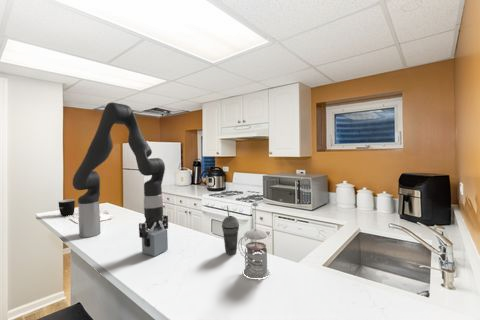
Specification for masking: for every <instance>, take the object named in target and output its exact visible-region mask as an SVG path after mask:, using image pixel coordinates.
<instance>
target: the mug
mask: <svg viewBox="0 0 480 320" xmlns="http://www.w3.org/2000/svg"><path fill="white" fill-rule="evenodd" d="M75 201H76V200H75V199H71V198H69V199H63V200H59V201H58V210H59V214H60V216H61V217H69V216H68V215H71V216H73V215H74V213H75V209H76V205H75V203H76V202H75ZM72 214H73V215H72Z"/></svg>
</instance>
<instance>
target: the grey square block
mask: <svg viewBox="0 0 480 320" xmlns="http://www.w3.org/2000/svg"><path fill="white" fill-rule="evenodd" d="M148 230H150V229H148ZM147 234H148V233H147ZM147 234H146V235H147ZM149 238H150V247H146V246H145V245H144V238H141V246H142V247H141V249H142V251H141V252H142V254H145V255H147V256H152V257H156V256H159V255H160V254H163V253H164V252H166V251H168V250H169V245H168V242H169V241H168V240H169V239H168V229H161V228H159V229H158V228H156V229H155V230H153V232H152V233H151V234H150V237H149Z"/></svg>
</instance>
